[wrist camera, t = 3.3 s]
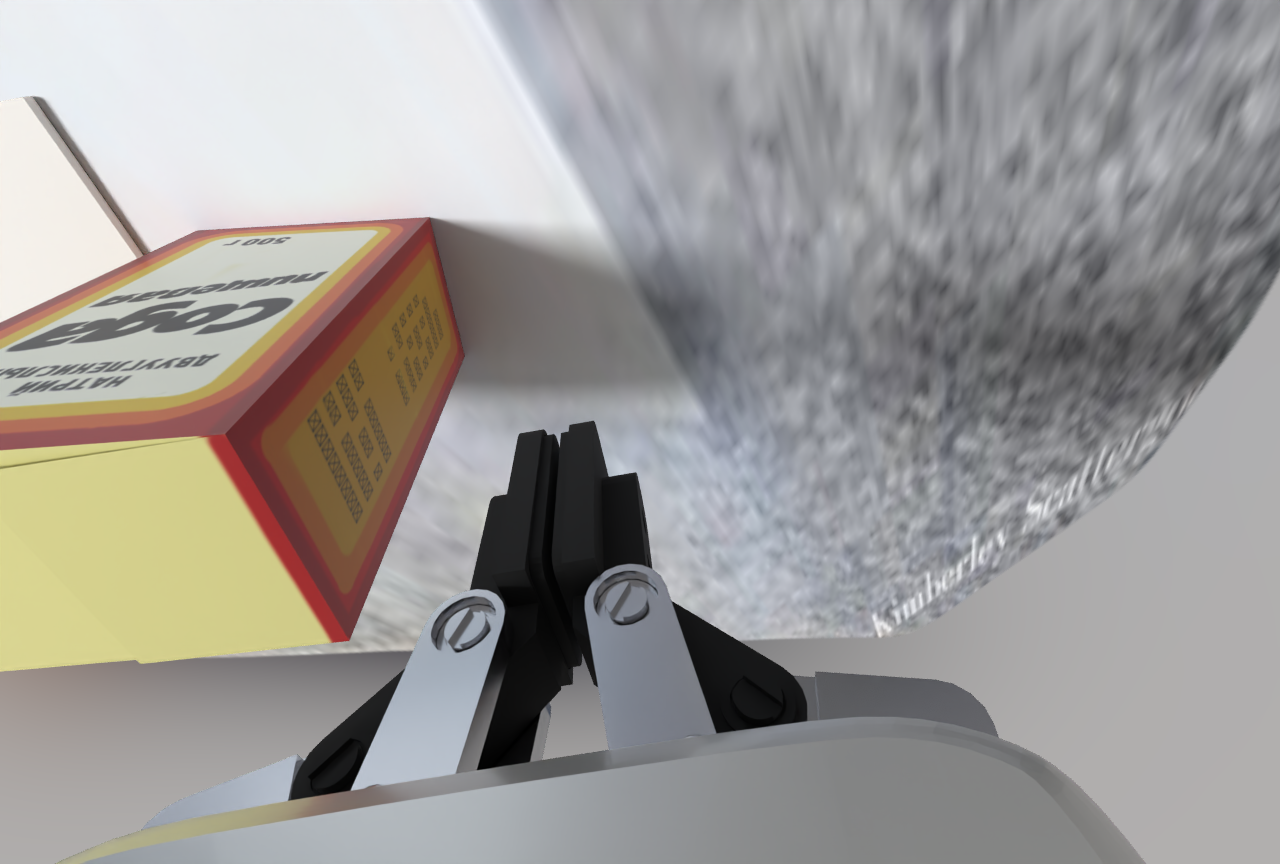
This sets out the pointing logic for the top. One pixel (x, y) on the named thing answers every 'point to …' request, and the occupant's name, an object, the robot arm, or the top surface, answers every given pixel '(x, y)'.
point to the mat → (49, 215)
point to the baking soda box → (217, 441)
